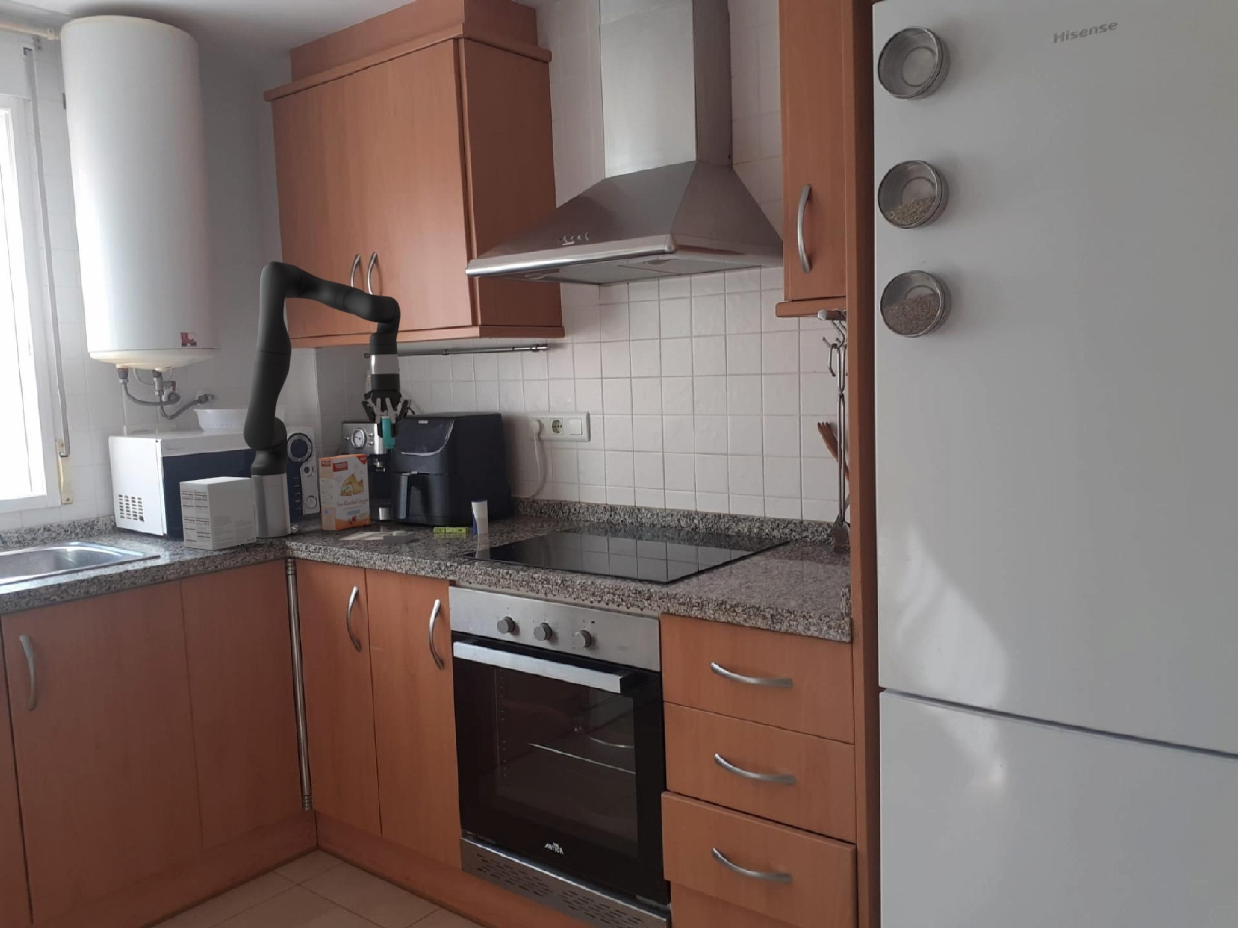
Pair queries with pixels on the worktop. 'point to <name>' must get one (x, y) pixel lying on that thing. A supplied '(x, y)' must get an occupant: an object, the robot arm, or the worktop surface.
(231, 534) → the supplement box
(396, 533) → the button
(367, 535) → the framed whiteboard
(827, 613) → the worktop surface
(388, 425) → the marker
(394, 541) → the button housing
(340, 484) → the cracker box
